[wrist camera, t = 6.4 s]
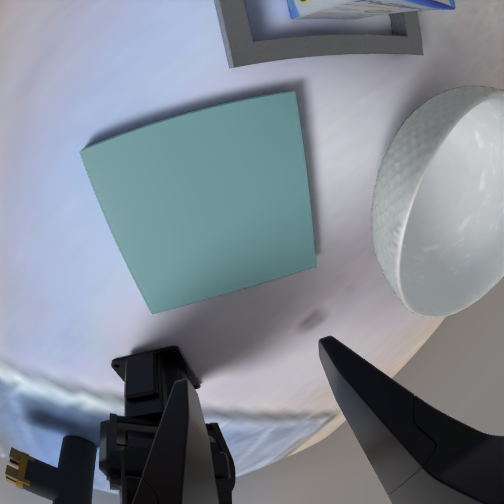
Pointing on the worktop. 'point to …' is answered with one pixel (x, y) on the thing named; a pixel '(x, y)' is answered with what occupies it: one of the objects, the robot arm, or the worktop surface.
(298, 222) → the board
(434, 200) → the cereal bowl
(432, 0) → the medicine box
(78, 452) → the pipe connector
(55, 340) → the worktop surface
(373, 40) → the hollow square frame
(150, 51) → the worktop surface
